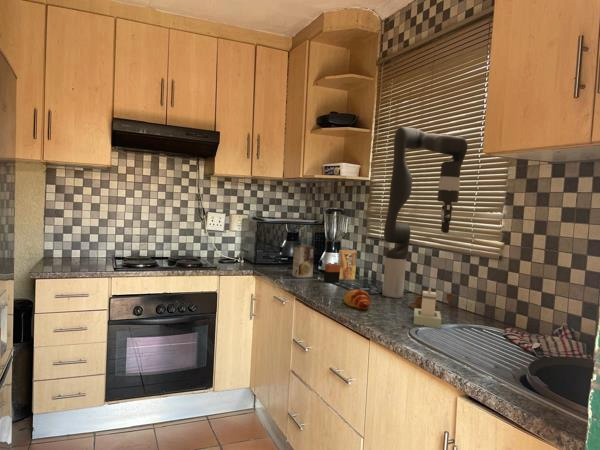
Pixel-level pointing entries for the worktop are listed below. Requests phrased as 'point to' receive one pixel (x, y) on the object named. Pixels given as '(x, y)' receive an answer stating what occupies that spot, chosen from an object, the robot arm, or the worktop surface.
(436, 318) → the green rectangular tray
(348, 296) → the croissant
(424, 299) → the block
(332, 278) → the battery
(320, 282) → the worktop surface
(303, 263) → the coffee box
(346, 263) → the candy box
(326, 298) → the worktop surface
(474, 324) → the worktop surface
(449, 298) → the place setting
